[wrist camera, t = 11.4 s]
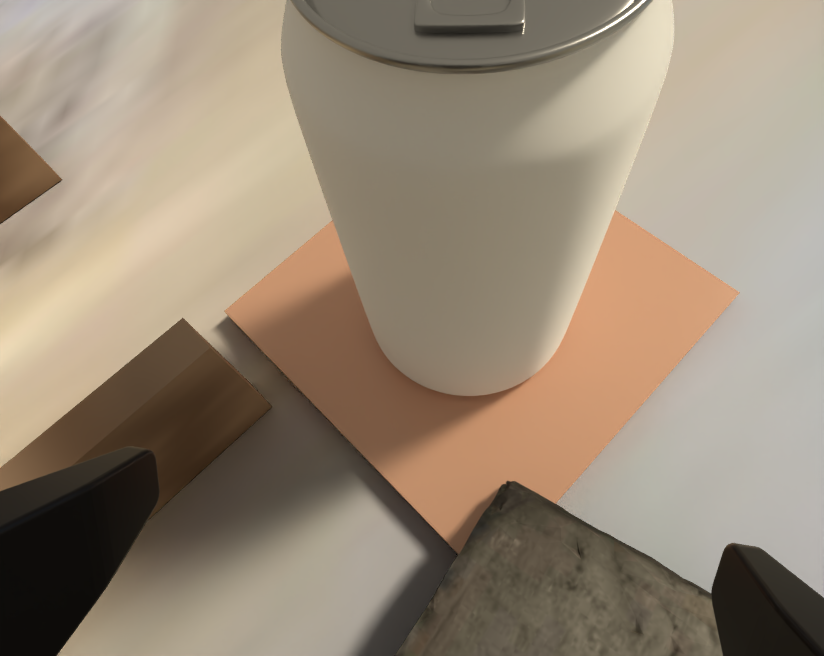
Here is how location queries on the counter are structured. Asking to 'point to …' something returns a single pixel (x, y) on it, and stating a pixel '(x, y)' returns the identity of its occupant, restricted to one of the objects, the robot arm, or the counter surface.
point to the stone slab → (558, 592)
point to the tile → (493, 413)
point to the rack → (134, 382)
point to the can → (473, 163)
